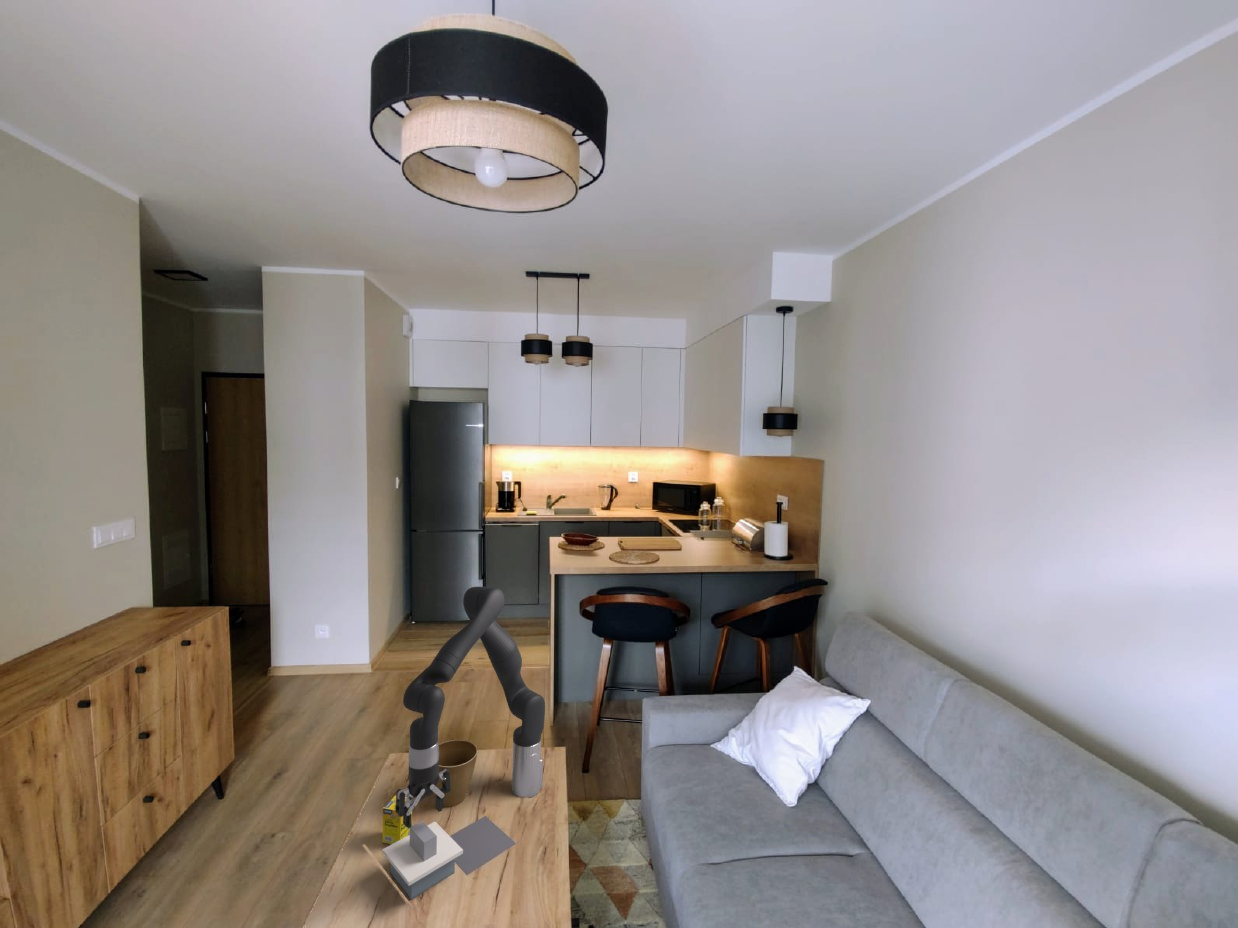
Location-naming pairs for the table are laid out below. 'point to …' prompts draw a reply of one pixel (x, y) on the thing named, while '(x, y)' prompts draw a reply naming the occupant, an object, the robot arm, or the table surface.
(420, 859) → the lid
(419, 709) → the robot arm
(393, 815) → the supplement box
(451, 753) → the plant pot
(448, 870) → the grey storage bin
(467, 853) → the mat
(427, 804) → the table surface
